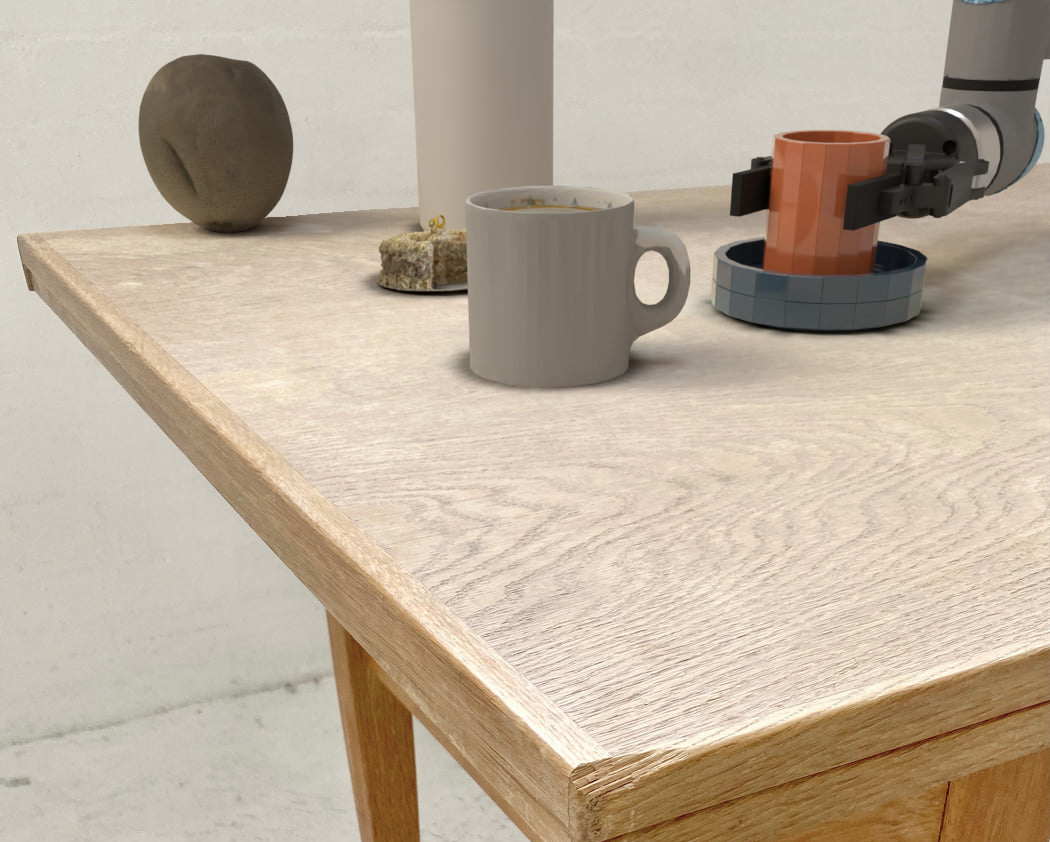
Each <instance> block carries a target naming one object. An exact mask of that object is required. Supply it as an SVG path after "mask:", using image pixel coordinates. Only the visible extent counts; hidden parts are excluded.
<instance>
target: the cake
mask: <svg viewBox="0 0 1050 842" xmlns="http://www.w3.org/2000/svg"><path fill="white" fill-rule="evenodd" d="M439 216H440V217H441V218H442V220H443V221H442V224H439V220H438V218H439ZM439 216H437V217H436V218H434V219H431V220H429V223H428V224H429V227H431V230H430V231H424V230H422V231H414V232H406V233H396V235H391V236H390V238H389V239H388V240H384V239H383V240H381V243H380V245H379V246H378V253H380V260H381V264H380V266H381V270H380V271H379V276H378V279H377V280H376V284H377V285H378V286H379V287H384V288H388V289H389V290H390V289H392V290H393V289H394V290H396V291H403V292H404V291H405V292H434V293H447V292H459V291H468V287H465V288H449V289H435V286H436V287H437V286H446V285H448V284H465V285H466V284H467V285H468V277H467V242H466V229H461V230H454V229H451V230H446V225H445V217H444V216H443V215H439ZM431 221H432V222H433V224H432V225H431V224H430V223H431Z"/></svg>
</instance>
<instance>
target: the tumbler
mask: <svg viewBox="0 0 1050 842" xmlns="http://www.w3.org/2000/svg"><path fill="white" fill-rule="evenodd" d="M889 146H890V138H889V137H888V136H886V135H882V134H881V133H876V132H871V131H870V132H869V131H862V130H861V131H859V130H845V129H805V130H801V129H800V130H791V131H783V132H779V133H776V134H773V137H772V149H771V156H772V159H771V171H770V183H769V195H768V207H767V210H766V219H765V220H766V221H765V232H764V234H765V235H764V237H765V243H764V254H763V266H762V269H763V270H770V271H778V272H785V273H794V274H811V275H859V274H871V273H874V265H875V257H876V249H877V241H879V240H878V239H879V233H880V225H881V222H878V223H875V224H872V225H869V226H866V227H863V228H860V229H857V230H854V231H852V230H844V229H843V225H844V216H845V207H846V198H847V189H848V185H850V184H854V183H857V182H861V181H865V180H868V179H872V178H875V177H879V176H882V175H886V170H887V162H888V154H889Z"/></svg>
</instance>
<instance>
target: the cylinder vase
mask: <svg viewBox="0 0 1050 842" xmlns="http://www.w3.org/2000/svg"><path fill="white" fill-rule="evenodd" d="M554 1H555V0H409V1H408V2H409V20H410V21H409V23H410V42H411V43H410V45H411V65H412V67H411V68H412V87H413V88H412V89H413V109H414V128H415V129H414V131H415V149H416V150H415V151H416V152H415V153H416V169H417V170H416V173H417V174H416V175H417V194H418V195H417V196H418V214H419V215H418V216H419V218H418V219H419V226H420V227H421V229H422V231H430V230H431V227H429V224H428V223H429V220H431V219H434V218H436V217H437V216H439V215H443V216H444V217H445V225H446V230H451V229H454V230H461V229H466V199H467V198H468V197H469V196H471V195H474V194H476V193H479V192H483V191H489V190H495V189H502V188H512V187H525V186H554V40H555V39H554V37H555V36H554V34H555V33H554V32H555V31H554V29H555V28H554V23H555V22H554V21H555V20H554V17H555V15H554V12H555V10H554V7H555V6H554V5H555V3H554ZM438 220H439V224H442V221H443V220H442V218H441V217H440V216H439V218H438ZM430 224H431V225H432V224H433V222H432V221H431V223H430Z"/></svg>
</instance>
